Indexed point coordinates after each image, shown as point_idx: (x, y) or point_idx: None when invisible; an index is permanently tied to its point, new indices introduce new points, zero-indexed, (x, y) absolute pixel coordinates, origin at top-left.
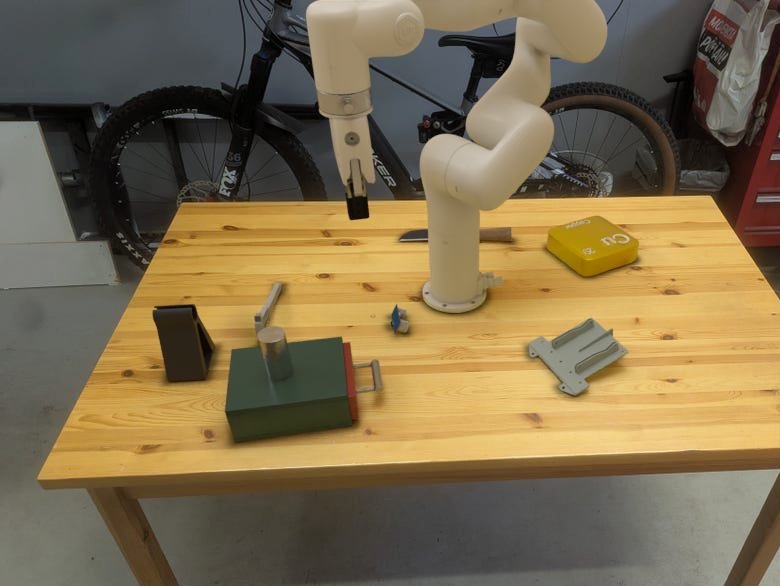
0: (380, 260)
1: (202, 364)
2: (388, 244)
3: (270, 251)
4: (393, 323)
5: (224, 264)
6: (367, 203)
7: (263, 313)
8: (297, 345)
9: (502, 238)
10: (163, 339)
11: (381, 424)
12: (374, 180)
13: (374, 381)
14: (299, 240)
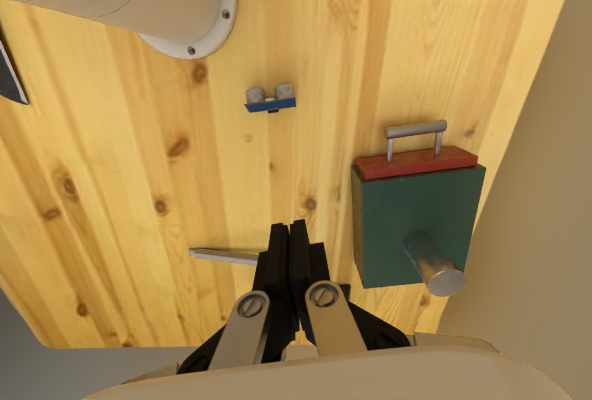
0: (99, 133)
1: (347, 295)
2: (45, 122)
3: (119, 268)
4: (274, 108)
5: (158, 302)
6: (307, 252)
7: None
8: (371, 231)
9: None
10: None
11: (462, 118)
12: (551, 381)
13: (431, 132)
14: (82, 243)
